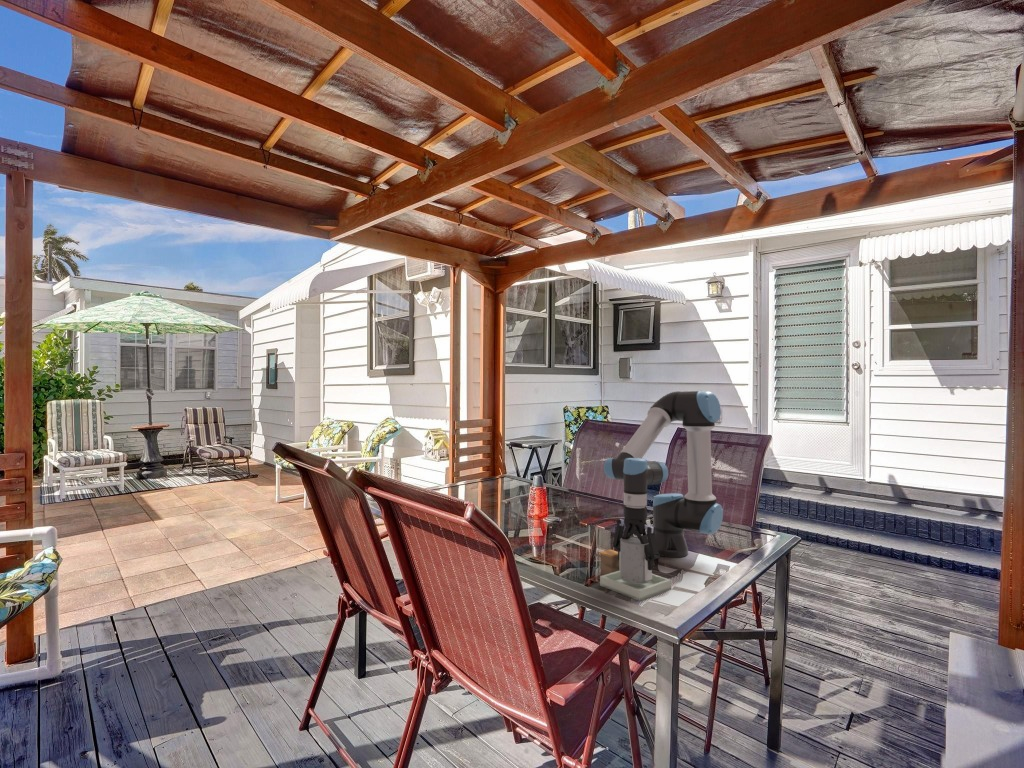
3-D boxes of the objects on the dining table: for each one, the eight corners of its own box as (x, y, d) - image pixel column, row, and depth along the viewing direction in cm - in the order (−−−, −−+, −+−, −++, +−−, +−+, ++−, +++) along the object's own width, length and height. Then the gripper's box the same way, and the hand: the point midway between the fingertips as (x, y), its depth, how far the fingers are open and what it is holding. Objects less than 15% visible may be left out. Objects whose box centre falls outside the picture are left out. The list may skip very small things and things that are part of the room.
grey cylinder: (645, 573, 167) (645, 536, 168) (654, 583, 158) (654, 544, 158) (617, 573, 167) (617, 536, 167) (624, 584, 157) (624, 544, 158)
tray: (631, 575, 174) (631, 566, 174) (671, 589, 161) (671, 580, 161) (600, 585, 164) (600, 576, 164) (639, 601, 151) (639, 591, 151)
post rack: (642, 561, 189) (642, 541, 189) (653, 565, 185) (653, 544, 185) (600, 573, 175) (600, 552, 175) (611, 578, 171) (611, 555, 171)
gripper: (601, 501, 170) (601, 568, 169) (656, 513, 152) (656, 587, 151) (616, 499, 174) (616, 564, 174) (671, 510, 157) (671, 582, 156)
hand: (635, 575), depth 162 cm, fingers closed on grey cylinder, 9 cm apart
